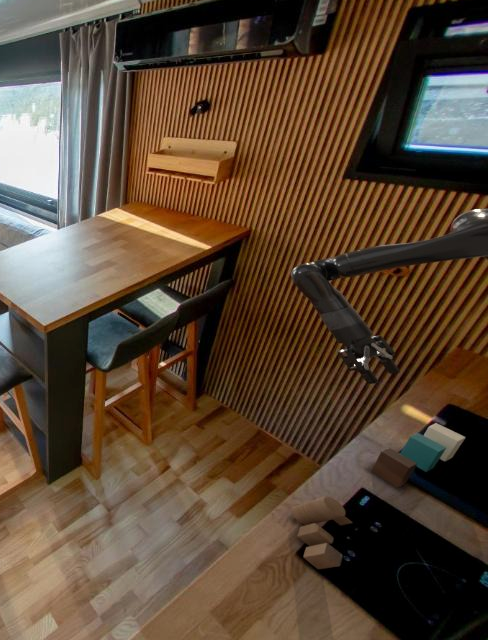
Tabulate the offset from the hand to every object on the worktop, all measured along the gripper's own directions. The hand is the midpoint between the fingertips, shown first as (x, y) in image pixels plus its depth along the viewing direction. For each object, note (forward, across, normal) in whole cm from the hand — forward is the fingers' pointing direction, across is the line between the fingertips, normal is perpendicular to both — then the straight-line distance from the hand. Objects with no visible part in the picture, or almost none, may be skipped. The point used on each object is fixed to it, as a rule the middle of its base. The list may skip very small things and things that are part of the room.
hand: (384, 378), depth 98 cm
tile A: (+23, +8, +6) cm, 25 cm away
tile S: (+23, 0, +6) cm, 24 cm away
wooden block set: (+25, -42, +5) cm, 49 cm away
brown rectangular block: (+23, -11, +6) cm, 26 cm away
